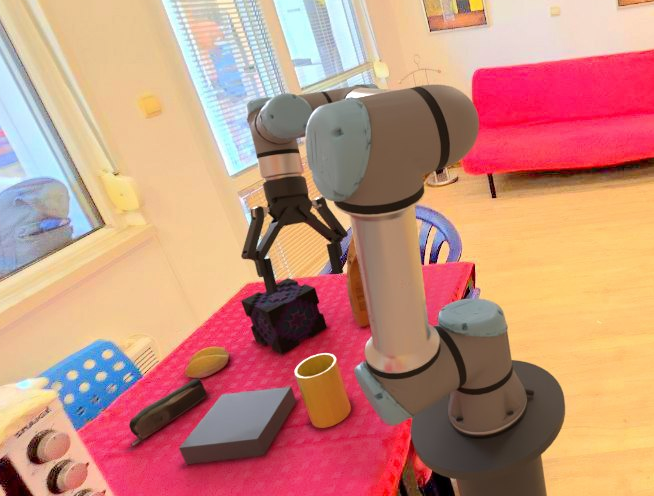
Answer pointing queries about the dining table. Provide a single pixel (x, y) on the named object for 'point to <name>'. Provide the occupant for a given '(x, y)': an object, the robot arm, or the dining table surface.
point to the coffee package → (356, 287)
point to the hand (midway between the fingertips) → (307, 282)
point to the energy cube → (284, 315)
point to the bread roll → (207, 362)
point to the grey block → (239, 425)
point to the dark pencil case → (166, 409)
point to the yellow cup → (323, 390)
